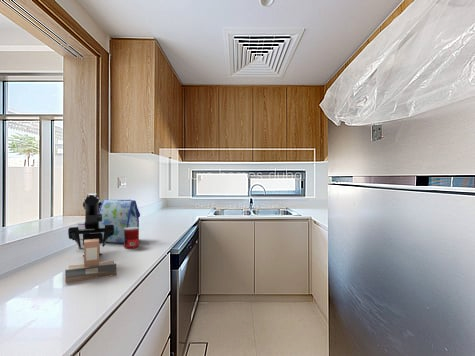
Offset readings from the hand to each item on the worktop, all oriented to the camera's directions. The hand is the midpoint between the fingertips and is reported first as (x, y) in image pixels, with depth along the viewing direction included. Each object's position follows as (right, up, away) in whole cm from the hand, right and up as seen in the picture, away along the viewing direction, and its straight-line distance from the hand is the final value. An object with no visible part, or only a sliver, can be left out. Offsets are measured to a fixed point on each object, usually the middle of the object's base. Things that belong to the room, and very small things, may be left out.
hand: (91, 247), depth 130 cm
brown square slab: (+3, -9, -6) cm, 11 cm away
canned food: (+4, -9, +38) cm, 39 cm away
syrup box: (-23, -9, +39) cm, 46 cm away
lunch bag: (-10, -9, +55) cm, 57 cm away
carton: (+4, -7, -7) cm, 11 cm away
